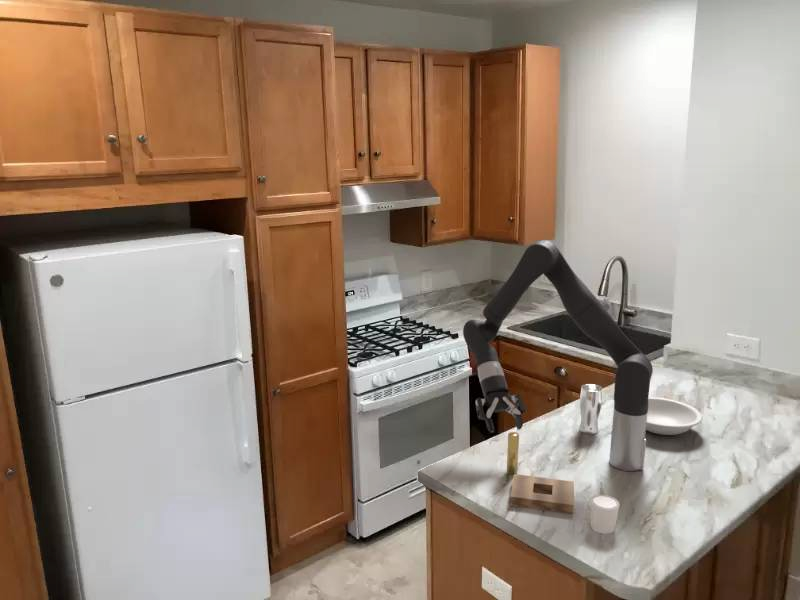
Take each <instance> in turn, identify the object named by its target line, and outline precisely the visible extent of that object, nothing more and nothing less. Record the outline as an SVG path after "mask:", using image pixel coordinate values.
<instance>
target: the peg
mask: <svg viewBox="0 0 800 600" xmlns="http://www.w3.org/2000/svg"><path fill="white" fill-rule="evenodd" d="M507 435H508V436H507V454H506V457H507V459H506V474H507V475H508V476H512V477H514V474H518V466H519V465H518V464H519V443H520V434H519V433H517V432H515V431H511V432H508V434H507Z"/></svg>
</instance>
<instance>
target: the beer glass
mask: <svg viewBox="0 0 800 600" xmlns="http://www.w3.org/2000/svg"><path fill="white" fill-rule="evenodd" d="M580 389H581V390H580V396H579V408H580V424H579V428H578V430H579V431H580V432H581V433H583V434H586V435H595V433H596V434H597V433H598V432H599V424H598V423H599V422H598V421H599V417H600V413H601V409H602V406H603V387H602V386H600V385H598V384H593V383H586V384H582V385H581V388H580Z"/></svg>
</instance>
